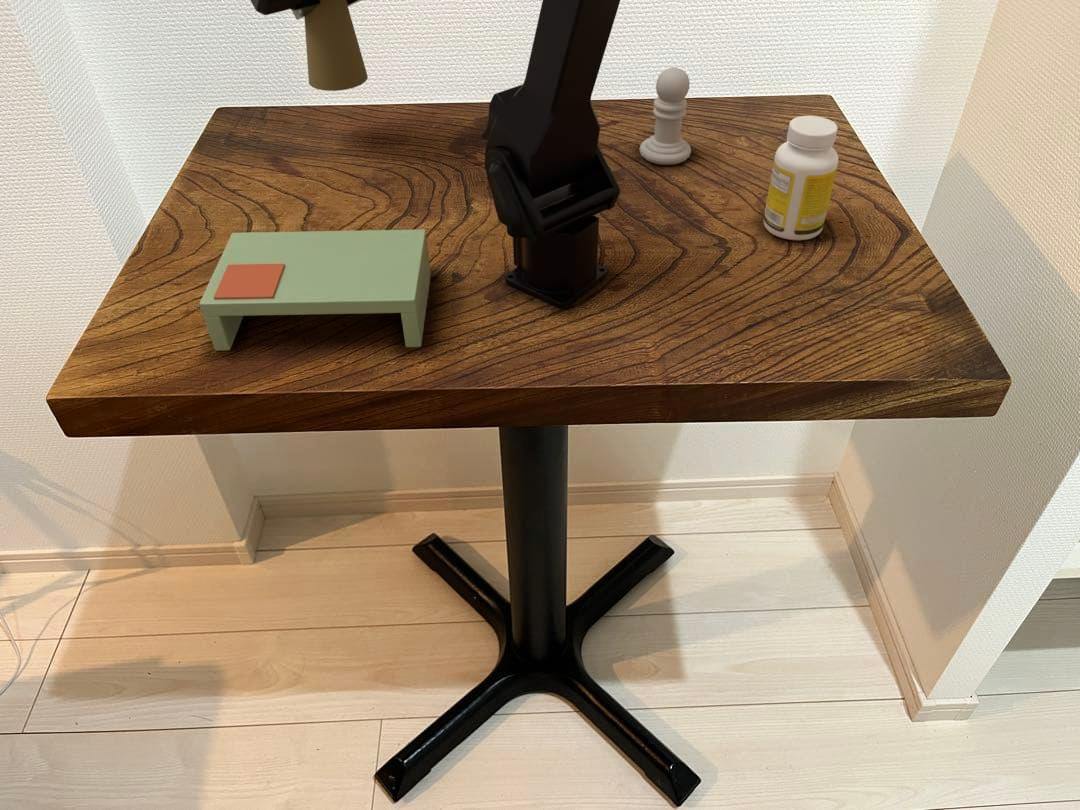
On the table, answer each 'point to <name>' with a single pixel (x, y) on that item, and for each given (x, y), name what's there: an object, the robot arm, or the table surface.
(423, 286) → the shelf
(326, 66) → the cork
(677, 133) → the chess piece
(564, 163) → the robot arm
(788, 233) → the supplement bottle
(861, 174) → the table surface
